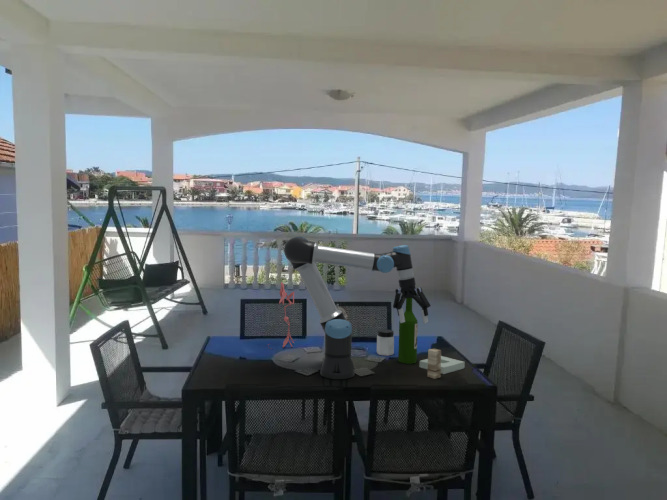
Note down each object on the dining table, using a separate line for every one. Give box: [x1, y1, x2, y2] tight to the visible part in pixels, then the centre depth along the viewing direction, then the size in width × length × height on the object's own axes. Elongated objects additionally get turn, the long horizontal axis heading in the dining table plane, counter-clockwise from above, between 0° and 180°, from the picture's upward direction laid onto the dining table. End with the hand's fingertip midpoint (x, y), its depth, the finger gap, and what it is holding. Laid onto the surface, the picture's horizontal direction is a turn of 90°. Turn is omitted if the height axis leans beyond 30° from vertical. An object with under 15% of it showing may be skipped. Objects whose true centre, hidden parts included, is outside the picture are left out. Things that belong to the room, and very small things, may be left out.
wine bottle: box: [397, 298, 419, 365], centre depth 239 cm, size 9×9×32 cm
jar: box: [376, 328, 395, 357], centre depth 253 cm, size 9×8×12 cm
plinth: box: [418, 355, 466, 375], centre depth 230 cm, size 16×14×3 cm
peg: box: [426, 348, 442, 380], centre depth 214 cm, size 4×4×12 cm
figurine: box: [267, 281, 296, 350], centre depth 266 cm, size 15×26×35 cm, turn 0°
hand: (414, 322), depth 228 cm, fingers open, 13 cm apart
